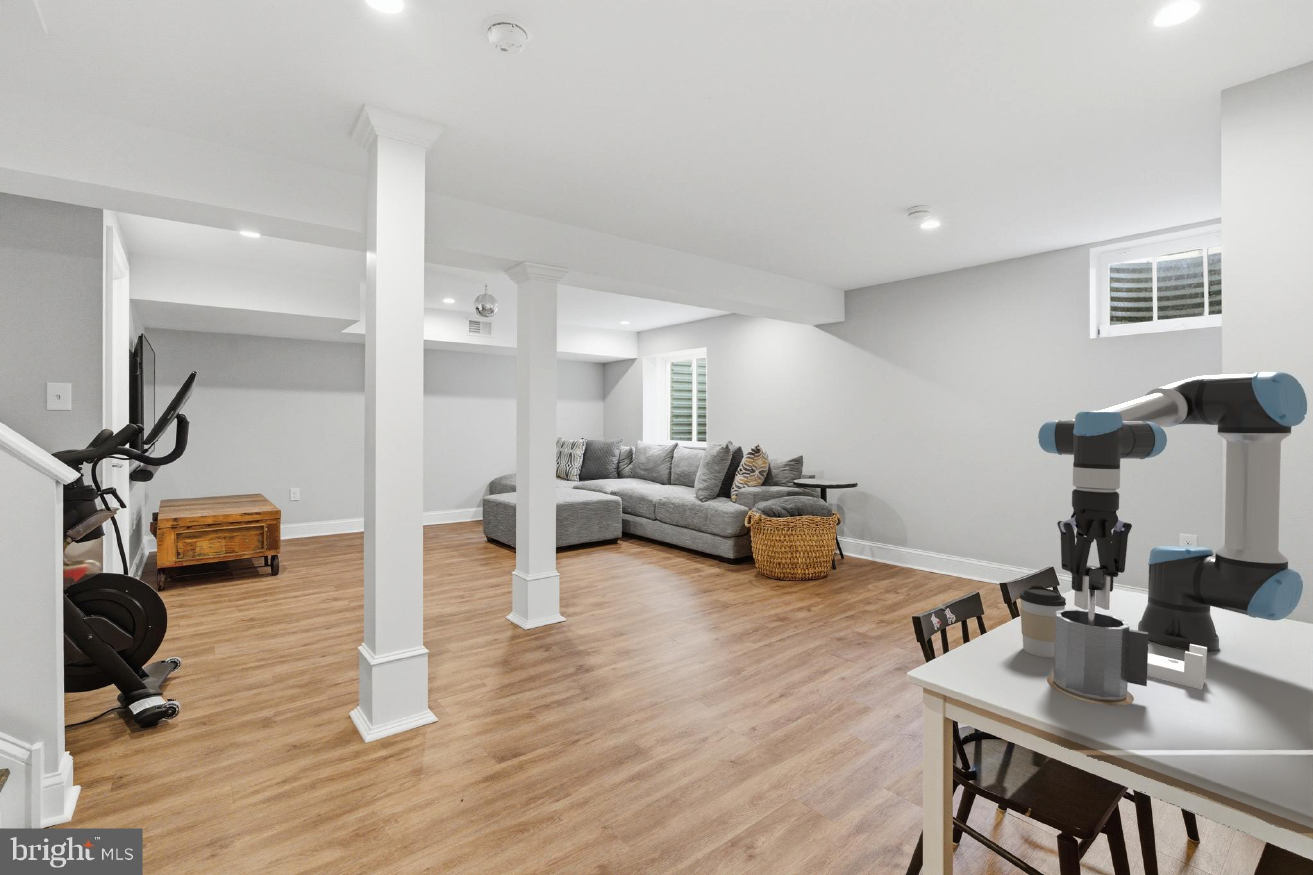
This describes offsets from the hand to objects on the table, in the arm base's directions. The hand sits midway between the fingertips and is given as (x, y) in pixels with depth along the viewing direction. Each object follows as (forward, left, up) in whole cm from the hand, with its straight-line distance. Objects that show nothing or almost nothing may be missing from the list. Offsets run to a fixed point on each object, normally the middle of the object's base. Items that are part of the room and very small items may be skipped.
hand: (1091, 607), depth 119 cm
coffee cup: (-3, -19, -17) cm, 26 cm away
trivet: (0, 0, -17) cm, 17 cm away
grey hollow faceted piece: (0, 0, -16) cm, 16 cm away
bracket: (-21, -7, -17) cm, 28 cm away
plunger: (0, 0, -12) cm, 12 cm away
